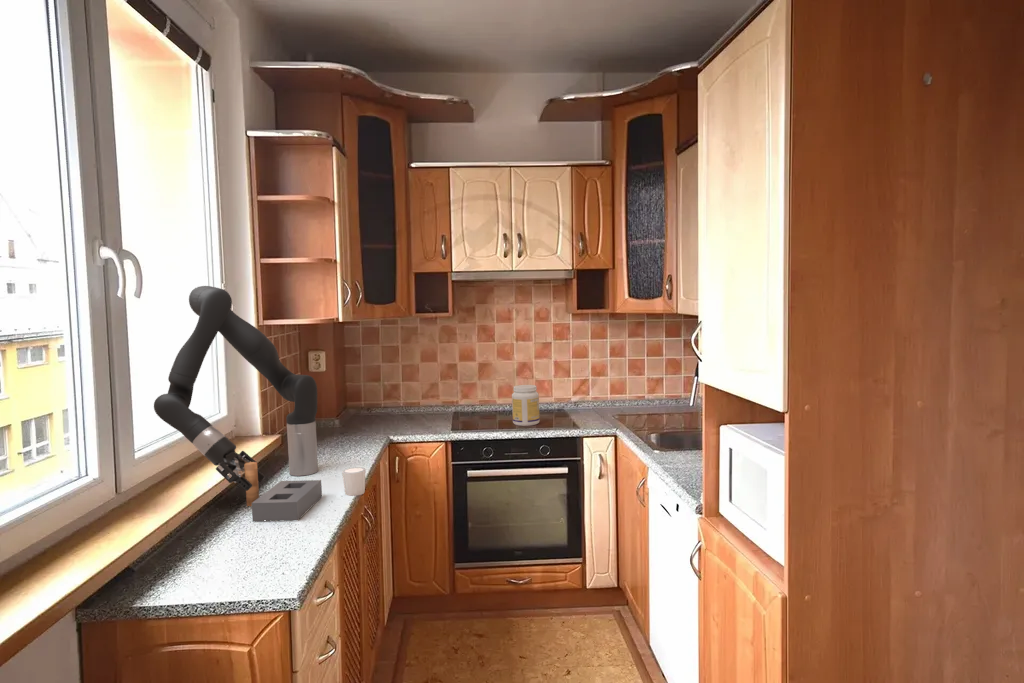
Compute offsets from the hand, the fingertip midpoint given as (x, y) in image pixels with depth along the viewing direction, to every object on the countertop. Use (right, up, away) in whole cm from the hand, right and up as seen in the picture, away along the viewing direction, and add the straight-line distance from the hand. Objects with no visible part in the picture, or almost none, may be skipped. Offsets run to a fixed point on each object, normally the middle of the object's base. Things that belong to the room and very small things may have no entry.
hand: (256, 483), depth 182 cm
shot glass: (+26, -5, +9) cm, 28 cm away
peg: (-1, -6, 0) cm, 6 cm away
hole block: (+11, -6, -4) cm, 13 cm away
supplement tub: (+79, +4, +104) cm, 131 cm away
